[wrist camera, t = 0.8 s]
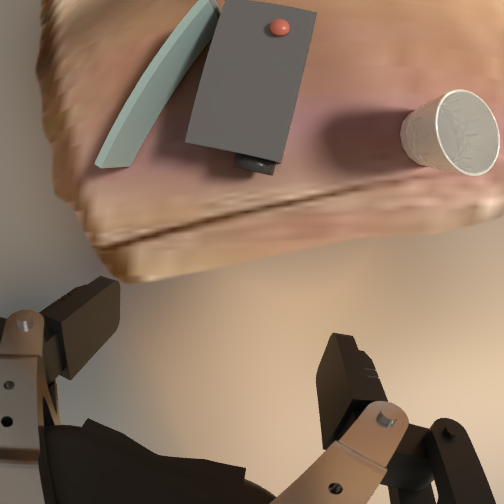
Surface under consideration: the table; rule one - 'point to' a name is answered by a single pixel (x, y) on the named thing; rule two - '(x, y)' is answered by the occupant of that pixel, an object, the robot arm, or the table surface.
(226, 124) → the camera housing
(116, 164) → the side door
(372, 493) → the robot arm
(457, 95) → the white cup
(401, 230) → the table surface
